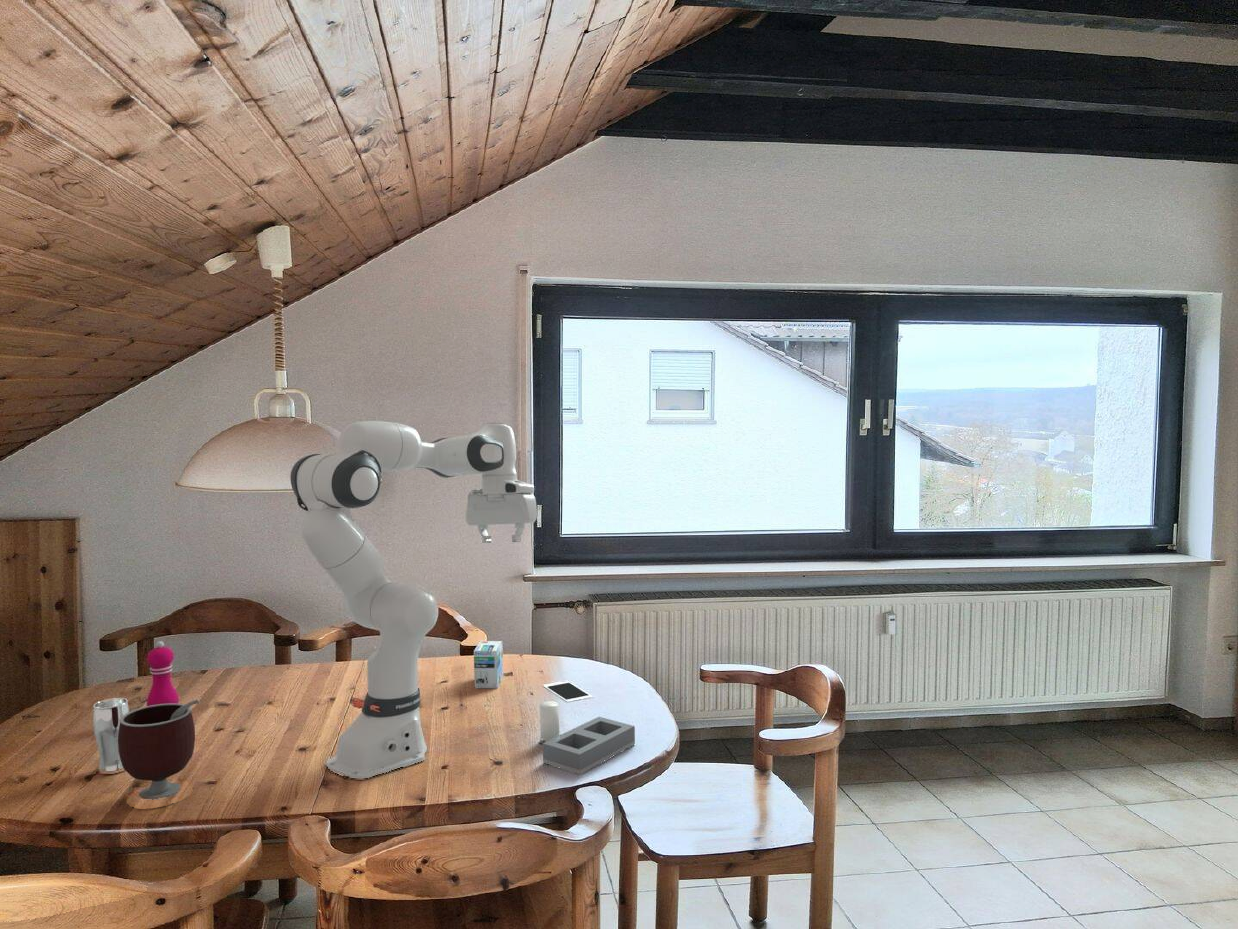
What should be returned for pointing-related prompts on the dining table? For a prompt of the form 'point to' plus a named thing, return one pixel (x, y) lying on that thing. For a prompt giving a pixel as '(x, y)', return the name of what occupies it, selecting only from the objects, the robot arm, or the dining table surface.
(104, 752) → the beer glass
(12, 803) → the dining table surface
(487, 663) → the light bulb box
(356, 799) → the dining table surface
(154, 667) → the pepper mill
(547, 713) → the plug
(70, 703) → the dining table surface
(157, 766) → the mate gourd
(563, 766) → the socket block
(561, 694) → the cell phone
